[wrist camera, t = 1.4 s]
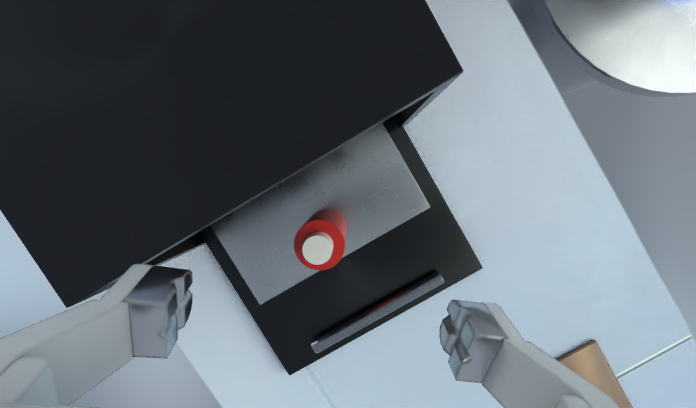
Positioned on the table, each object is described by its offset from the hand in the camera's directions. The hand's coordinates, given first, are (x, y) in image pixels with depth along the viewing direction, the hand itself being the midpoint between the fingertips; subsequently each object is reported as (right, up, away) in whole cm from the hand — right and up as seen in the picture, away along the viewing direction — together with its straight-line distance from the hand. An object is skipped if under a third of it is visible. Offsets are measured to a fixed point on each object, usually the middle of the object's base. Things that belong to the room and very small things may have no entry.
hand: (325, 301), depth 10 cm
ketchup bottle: (-2, 0, +29) cm, 29 cm away
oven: (-5, +6, +30) cm, 31 cm away
